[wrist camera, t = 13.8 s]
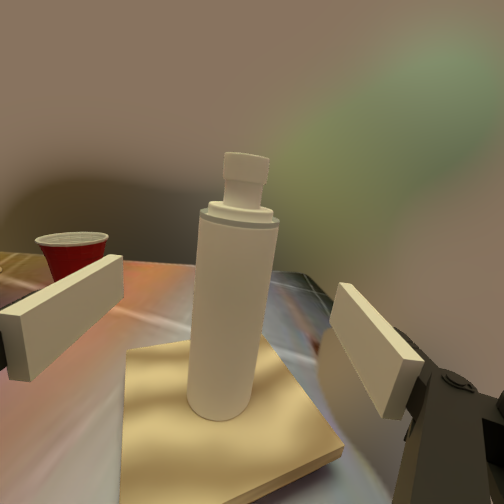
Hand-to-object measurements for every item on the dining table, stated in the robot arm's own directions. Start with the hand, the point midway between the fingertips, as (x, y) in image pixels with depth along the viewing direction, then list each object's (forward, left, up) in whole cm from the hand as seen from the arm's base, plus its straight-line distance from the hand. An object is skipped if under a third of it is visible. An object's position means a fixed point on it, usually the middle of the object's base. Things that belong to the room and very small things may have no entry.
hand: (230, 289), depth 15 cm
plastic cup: (-39, -15, -19) cm, 46 cm away
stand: (-6, +3, -19) cm, 20 cm away
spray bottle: (-6, +3, -15) cm, 17 cm away
